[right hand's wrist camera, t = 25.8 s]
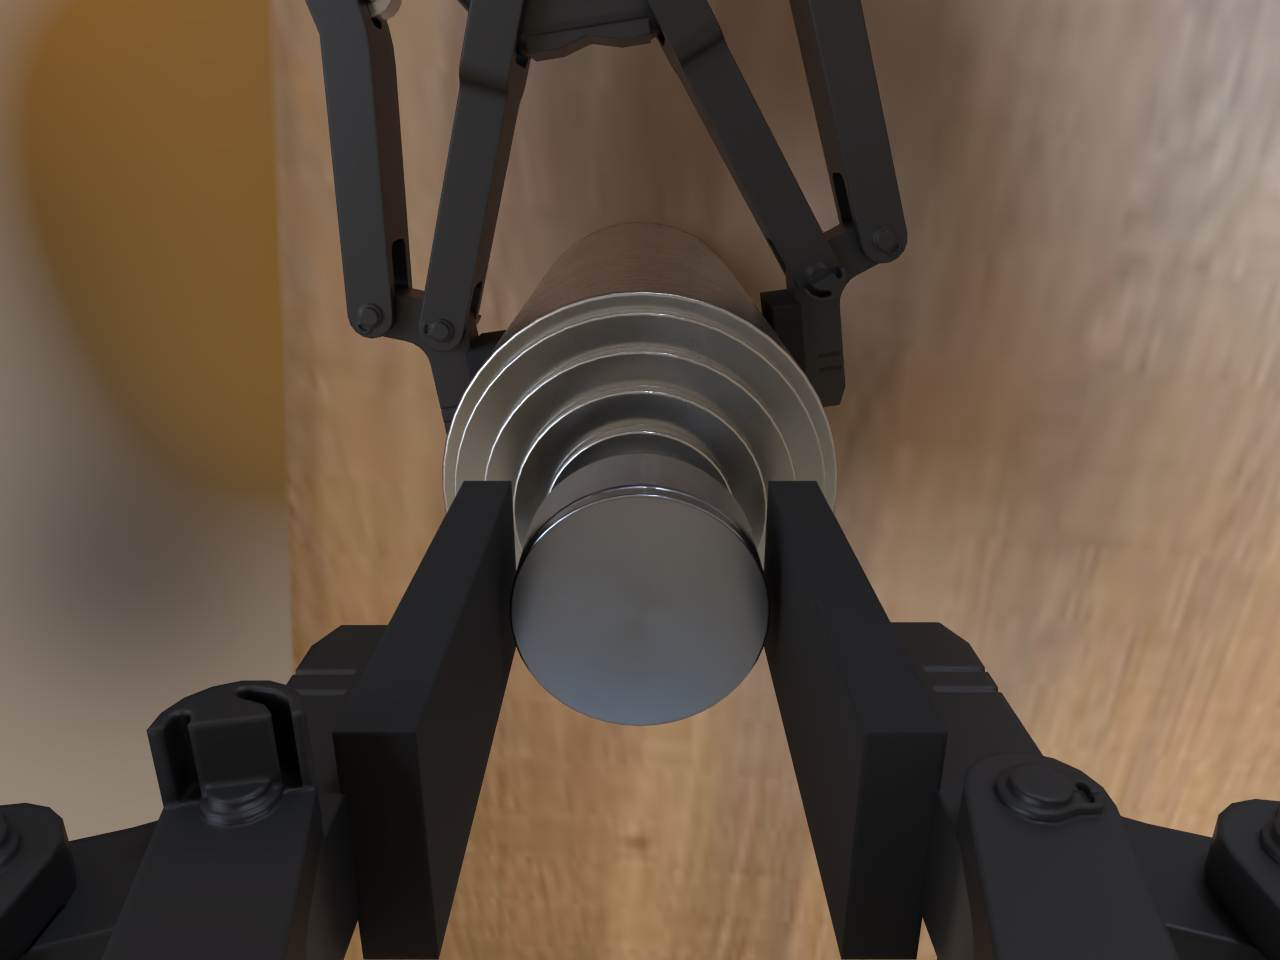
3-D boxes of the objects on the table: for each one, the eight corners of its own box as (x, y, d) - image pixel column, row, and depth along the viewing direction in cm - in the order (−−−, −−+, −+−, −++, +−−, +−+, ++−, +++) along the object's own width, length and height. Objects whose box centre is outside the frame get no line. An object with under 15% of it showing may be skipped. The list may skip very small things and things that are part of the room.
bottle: (742, 440, 33) (868, 803, 15) (533, 437, 33) (402, 796, 15) (755, 224, 31) (927, 344, 12) (528, 220, 31) (361, 333, 12)
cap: (763, 649, 15) (779, 713, 13) (544, 672, 15) (532, 739, 14) (745, 438, 14) (760, 480, 12) (506, 467, 14) (487, 510, 12)
